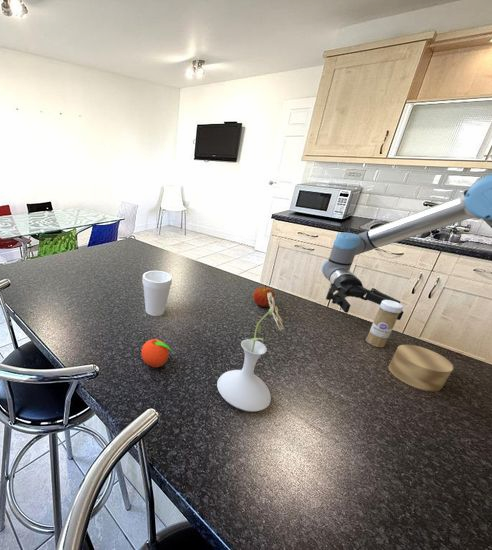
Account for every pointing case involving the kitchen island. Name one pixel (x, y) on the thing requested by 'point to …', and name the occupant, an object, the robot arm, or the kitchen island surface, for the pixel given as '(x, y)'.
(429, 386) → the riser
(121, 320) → the kitchen island surface
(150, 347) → the clementine
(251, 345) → the flower in vase
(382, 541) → the kitchen island surface
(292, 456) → the kitchen island surface
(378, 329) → the sprinkles bottle
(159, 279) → the foam cup
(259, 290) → the fruit
